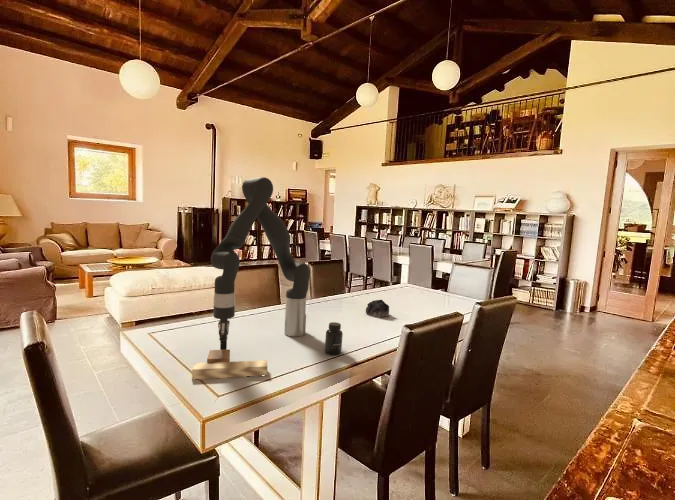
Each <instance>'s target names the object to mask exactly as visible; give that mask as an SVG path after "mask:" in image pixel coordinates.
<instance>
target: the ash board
mask: <svg viewBox="0 0 675 500" xmlns="http://www.w3.org/2000/svg"><path fill="white" fill-rule="evenodd" d="M262 375H267V376H268V360H267V359H266V360H241V361H240V360H239V361H230V362H211V363H207V362H195V363H194V364H193V366H192V369H191V380H192V381H196V380H195V379H199V380H214V379H215V378H220V379H228V378H227V377H241V378H247V377H246V376H262ZM262 377H263V376H262ZM215 380H216V379H215Z"/></svg>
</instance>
